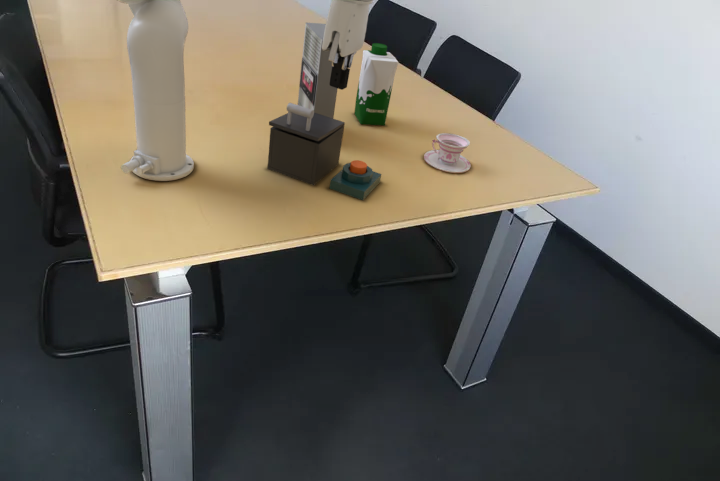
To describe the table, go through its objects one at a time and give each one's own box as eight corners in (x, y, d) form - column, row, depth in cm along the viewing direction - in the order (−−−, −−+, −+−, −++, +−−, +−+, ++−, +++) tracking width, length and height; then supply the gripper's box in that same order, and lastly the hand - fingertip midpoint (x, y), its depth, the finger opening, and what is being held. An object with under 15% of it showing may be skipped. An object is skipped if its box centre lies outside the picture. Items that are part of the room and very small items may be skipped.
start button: (362, 176, 121) (363, 169, 120) (346, 171, 122) (348, 164, 121) (368, 170, 124) (369, 163, 123) (353, 165, 124) (354, 158, 123)
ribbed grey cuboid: (292, 119, 149) (302, 22, 135) (314, 119, 151) (326, 23, 138) (307, 142, 139) (319, 39, 125) (330, 142, 141) (344, 41, 127)
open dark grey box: (313, 185, 121) (319, 144, 116) (267, 169, 124) (270, 127, 119) (338, 164, 132) (344, 125, 126) (294, 149, 134) (298, 111, 129)
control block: (362, 200, 120) (366, 184, 117) (329, 188, 122) (331, 172, 119) (379, 182, 127) (383, 166, 125) (348, 171, 129) (350, 156, 127)
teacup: (465, 155, 148) (471, 133, 144) (474, 176, 138) (481, 153, 134) (420, 149, 146) (426, 127, 143) (426, 170, 137) (432, 147, 133)
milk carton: (379, 114, 162) (392, 44, 151) (388, 127, 155) (403, 54, 144) (350, 112, 159) (361, 41, 148) (358, 126, 152) (371, 52, 141)
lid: (318, 141, 115) (321, 116, 112) (268, 125, 118) (271, 100, 115) (344, 125, 126) (348, 102, 123) (298, 110, 129) (301, 88, 126)
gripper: (352, -18, 110) (337, 73, 120) (317, -11, 98) (304, 90, 109) (386, -9, 109) (368, 84, 119) (355, 0, 97) (338, 102, 107)
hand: (337, 86), depth 114 cm, fingers closed
